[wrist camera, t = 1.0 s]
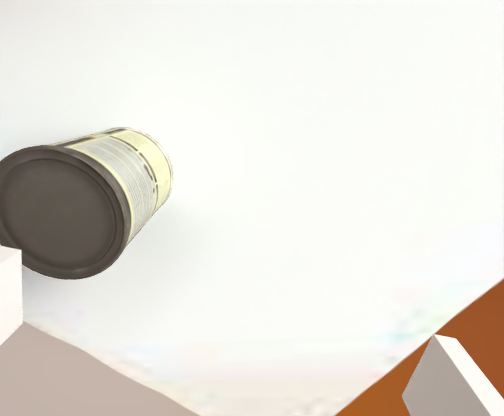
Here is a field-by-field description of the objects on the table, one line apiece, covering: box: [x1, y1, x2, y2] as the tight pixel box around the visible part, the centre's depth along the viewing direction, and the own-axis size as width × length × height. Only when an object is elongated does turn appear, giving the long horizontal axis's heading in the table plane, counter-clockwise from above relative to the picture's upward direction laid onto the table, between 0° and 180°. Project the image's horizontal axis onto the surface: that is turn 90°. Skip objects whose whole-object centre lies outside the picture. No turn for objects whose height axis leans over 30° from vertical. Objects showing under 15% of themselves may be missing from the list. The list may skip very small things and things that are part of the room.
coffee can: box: [0, 127, 173, 279], centre depth 30 cm, size 10×10×14 cm
